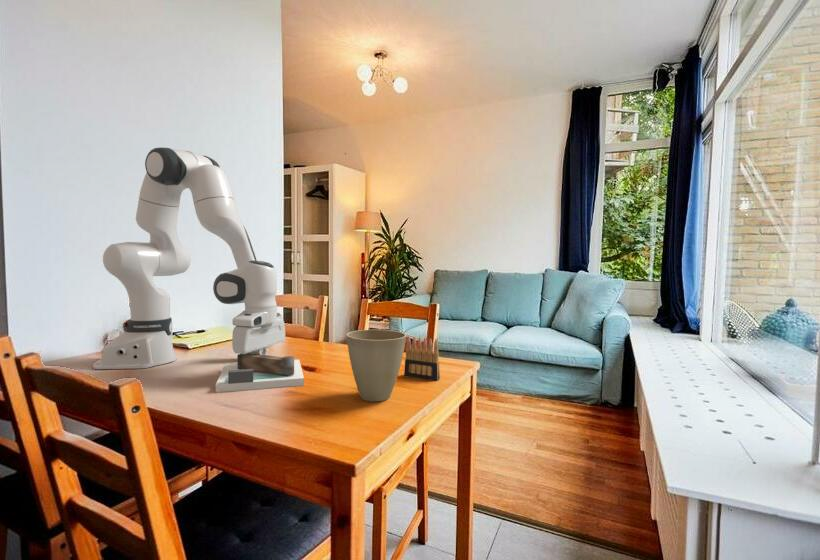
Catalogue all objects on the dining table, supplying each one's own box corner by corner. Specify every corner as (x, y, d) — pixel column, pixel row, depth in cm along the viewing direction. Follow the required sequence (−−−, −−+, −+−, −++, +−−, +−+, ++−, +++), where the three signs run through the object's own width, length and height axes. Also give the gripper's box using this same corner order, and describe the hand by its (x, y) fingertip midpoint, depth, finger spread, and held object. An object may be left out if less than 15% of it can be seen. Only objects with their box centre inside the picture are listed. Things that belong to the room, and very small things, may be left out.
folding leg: (296, 373, 118) (296, 356, 117) (289, 376, 114) (289, 359, 114) (246, 366, 124) (245, 351, 124) (237, 369, 121) (237, 353, 121)
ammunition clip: (439, 379, 122) (440, 338, 121) (437, 381, 120) (437, 339, 119) (406, 374, 126) (407, 335, 126) (404, 376, 125) (404, 336, 124)
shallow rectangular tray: (215, 392, 107) (215, 373, 107) (225, 370, 128) (224, 354, 128) (304, 385, 114) (304, 367, 114) (299, 365, 135) (299, 350, 135)
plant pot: (382, 411, 95) (383, 342, 94) (333, 399, 103) (333, 335, 102) (416, 394, 108) (417, 332, 107) (370, 384, 116) (371, 327, 115)
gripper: (273, 311, 134) (273, 354, 135) (227, 320, 114) (228, 370, 115) (290, 312, 132) (290, 355, 133) (247, 321, 112) (247, 372, 113)
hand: (261, 362), depth 124 cm, fingers closed
